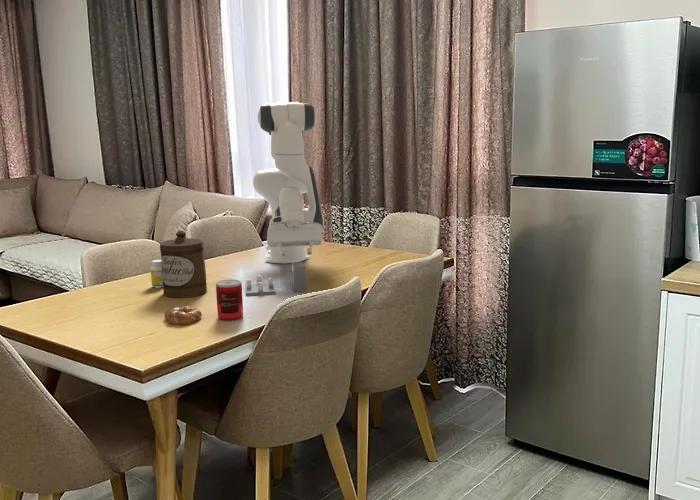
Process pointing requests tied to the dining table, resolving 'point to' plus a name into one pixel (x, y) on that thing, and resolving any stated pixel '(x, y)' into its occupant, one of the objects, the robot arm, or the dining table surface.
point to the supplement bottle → (156, 274)
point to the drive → (298, 277)
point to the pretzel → (182, 315)
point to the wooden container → (183, 267)
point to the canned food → (229, 299)
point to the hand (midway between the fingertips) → (296, 254)
